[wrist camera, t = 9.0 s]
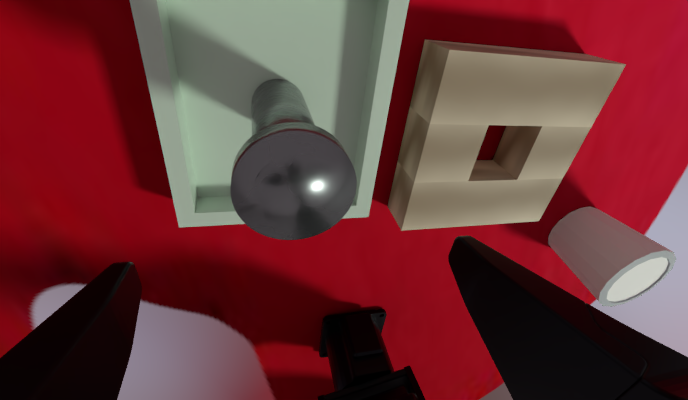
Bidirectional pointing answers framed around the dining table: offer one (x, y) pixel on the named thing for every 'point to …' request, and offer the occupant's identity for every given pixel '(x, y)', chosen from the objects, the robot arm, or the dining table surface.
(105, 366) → the robot arm
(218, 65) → the tray
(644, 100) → the dining table surface
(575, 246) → the cup
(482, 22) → the dining table surface
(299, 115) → the pin
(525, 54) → the hole block
